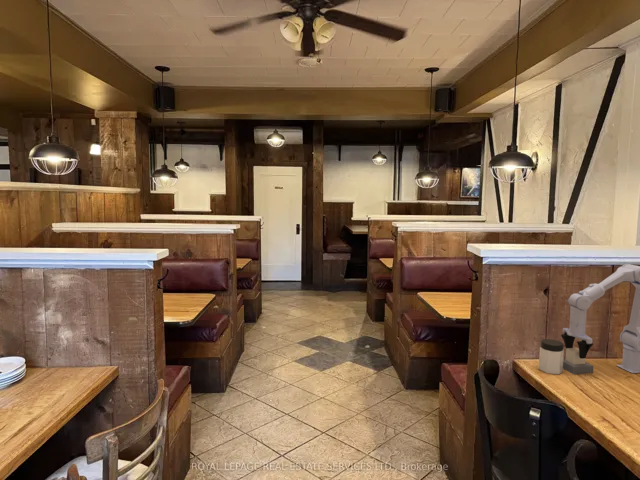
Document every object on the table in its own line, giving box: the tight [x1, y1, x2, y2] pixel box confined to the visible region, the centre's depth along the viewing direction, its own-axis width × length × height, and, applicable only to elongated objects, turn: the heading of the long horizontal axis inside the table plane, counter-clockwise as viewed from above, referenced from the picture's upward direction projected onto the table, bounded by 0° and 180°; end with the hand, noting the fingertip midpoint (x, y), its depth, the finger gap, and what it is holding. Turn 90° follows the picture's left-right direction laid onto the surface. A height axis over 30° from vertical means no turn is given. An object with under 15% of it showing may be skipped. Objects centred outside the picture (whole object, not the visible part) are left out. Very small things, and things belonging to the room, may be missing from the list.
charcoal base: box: [563, 357, 594, 375], centre depth 174 cm, size 9×9×4 cm
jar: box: [538, 338, 565, 375], centre depth 173 cm, size 9×8×12 cm
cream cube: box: [565, 347, 586, 364], centre depth 174 cm, size 5×5×5 cm
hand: (575, 354), depth 174 cm, fingers open, 7 cm apart
